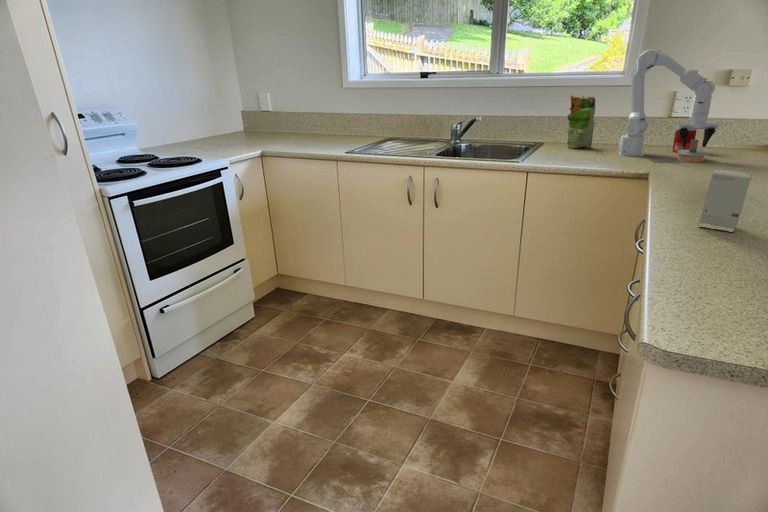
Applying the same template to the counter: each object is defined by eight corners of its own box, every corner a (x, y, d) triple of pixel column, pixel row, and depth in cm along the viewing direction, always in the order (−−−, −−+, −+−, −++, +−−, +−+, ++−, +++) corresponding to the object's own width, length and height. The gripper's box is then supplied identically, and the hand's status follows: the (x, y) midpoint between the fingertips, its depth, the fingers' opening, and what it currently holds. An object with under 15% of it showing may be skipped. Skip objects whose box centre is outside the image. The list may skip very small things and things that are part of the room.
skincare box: (697, 227, 129) (710, 173, 123) (702, 221, 133) (713, 168, 128) (735, 233, 124) (750, 176, 118) (738, 227, 128) (752, 172, 123)
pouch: (592, 149, 233) (599, 95, 224) (566, 149, 236) (571, 96, 227) (589, 145, 243) (595, 93, 234) (564, 145, 246) (569, 94, 237)
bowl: (682, 162, 201) (683, 155, 200) (675, 158, 209) (676, 151, 208) (706, 162, 199) (708, 155, 198) (698, 158, 207) (700, 151, 206)
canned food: (694, 154, 215) (699, 129, 211) (675, 154, 217) (679, 129, 213) (688, 151, 222) (693, 126, 218) (669, 151, 224) (673, 126, 220)
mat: (653, 163, 201) (653, 162, 201) (647, 158, 210) (647, 158, 210) (680, 163, 199) (680, 162, 199) (672, 159, 208) (672, 158, 208)
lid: (681, 156, 199) (684, 142, 197) (673, 151, 209) (676, 137, 206) (711, 156, 196) (714, 142, 194) (702, 151, 206) (705, 137, 204)
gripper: (683, 114, 194) (677, 148, 200) (724, 113, 191) (716, 148, 196) (678, 112, 201) (671, 145, 206) (717, 111, 198) (710, 145, 203)
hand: (693, 146), depth 202 cm, fingers open, 7 cm apart
